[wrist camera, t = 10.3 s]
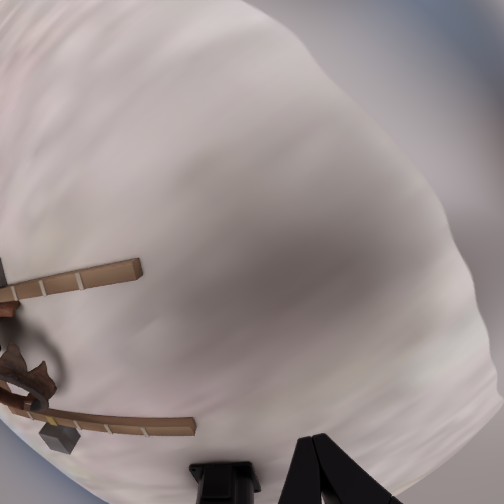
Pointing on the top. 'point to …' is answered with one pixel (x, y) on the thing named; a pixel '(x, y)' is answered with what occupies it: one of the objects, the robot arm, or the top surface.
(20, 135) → the top surface
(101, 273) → the wooden u-shaped frame
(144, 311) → the top surface
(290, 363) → the top surface
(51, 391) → the brown broken pot
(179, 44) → the top surface
